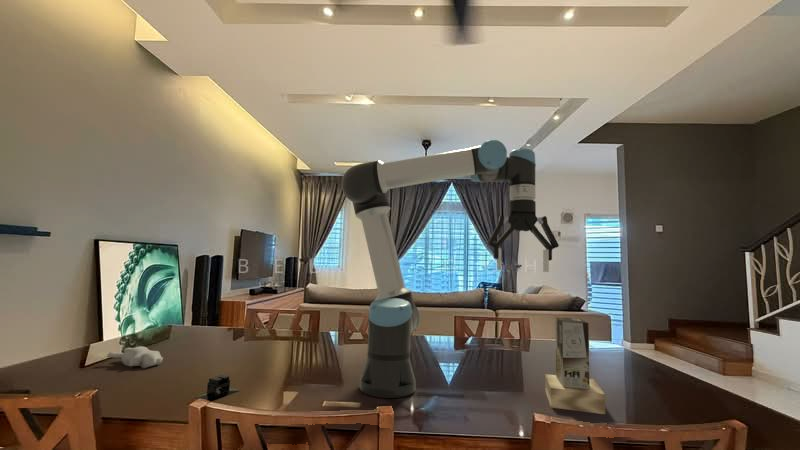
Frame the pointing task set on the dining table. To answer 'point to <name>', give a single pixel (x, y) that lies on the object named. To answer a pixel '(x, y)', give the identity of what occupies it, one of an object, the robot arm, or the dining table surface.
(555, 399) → the beech block
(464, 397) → the dining table surface
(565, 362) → the coffee box
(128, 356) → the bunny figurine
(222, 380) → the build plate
